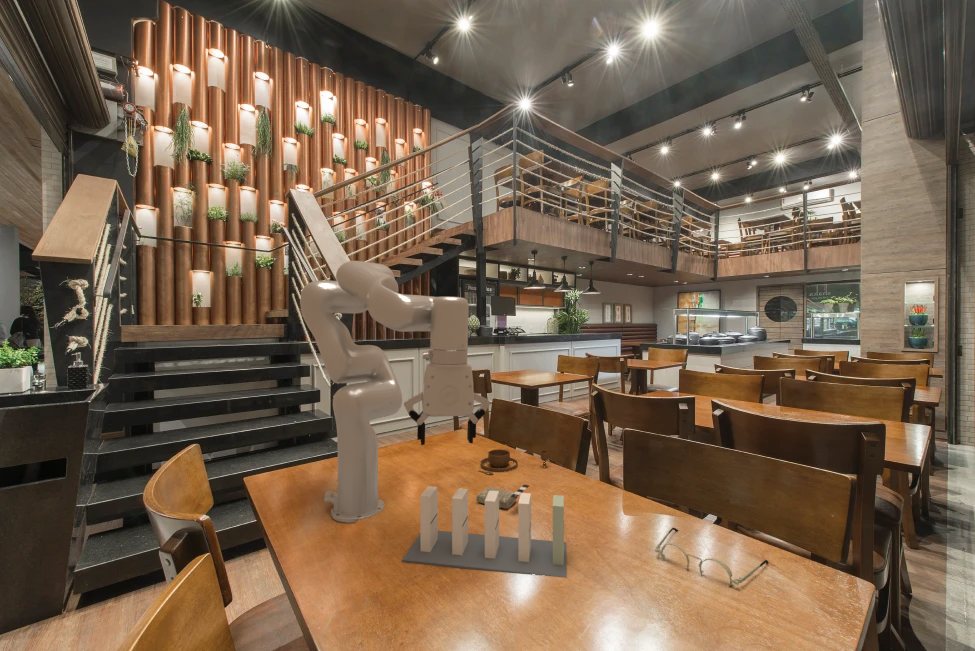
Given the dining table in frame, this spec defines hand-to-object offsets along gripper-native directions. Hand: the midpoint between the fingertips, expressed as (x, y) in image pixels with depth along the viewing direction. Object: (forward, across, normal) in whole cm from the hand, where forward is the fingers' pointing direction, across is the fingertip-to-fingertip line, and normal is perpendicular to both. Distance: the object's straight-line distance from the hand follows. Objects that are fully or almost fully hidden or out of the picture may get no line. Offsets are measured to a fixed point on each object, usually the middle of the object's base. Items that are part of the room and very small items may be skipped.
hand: (446, 442), depth 84 cm
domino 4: (+20, +15, -7) cm, 26 cm away
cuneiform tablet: (+19, +21, +13) cm, 31 cm away
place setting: (+23, +25, +42) cm, 54 cm away
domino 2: (+21, +3, -2) cm, 21 cm away
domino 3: (+21, +9, -4) cm, 23 cm away
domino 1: (+21, -3, 0) cm, 21 cm away
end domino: (+20, +21, -9) cm, 31 cm away
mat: (+21, +8, -4) cm, 23 cm away
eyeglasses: (+20, +49, -15) cm, 55 cm away
